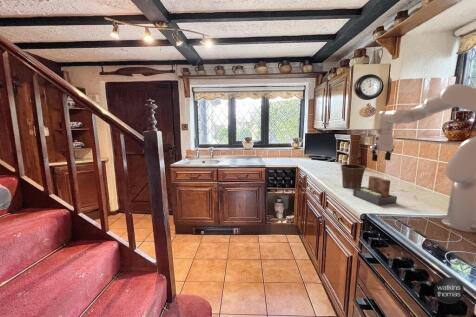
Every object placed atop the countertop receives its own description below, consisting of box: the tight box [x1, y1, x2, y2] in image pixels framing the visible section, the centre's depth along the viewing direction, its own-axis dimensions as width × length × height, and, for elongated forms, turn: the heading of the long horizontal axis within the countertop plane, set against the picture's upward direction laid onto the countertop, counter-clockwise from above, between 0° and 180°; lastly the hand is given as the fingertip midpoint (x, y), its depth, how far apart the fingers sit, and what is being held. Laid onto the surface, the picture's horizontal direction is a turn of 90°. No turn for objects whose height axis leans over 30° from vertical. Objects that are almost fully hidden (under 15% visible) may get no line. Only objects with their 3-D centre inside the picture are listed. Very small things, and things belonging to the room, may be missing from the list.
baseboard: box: [390, 189, 418, 201], centre depth 138 cm, size 31×3×12 cm
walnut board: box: [367, 175, 391, 197], centre depth 136 cm, size 12×3×13 cm, turn 16°
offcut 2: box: [369, 192, 382, 198], centre depth 133 cm, size 6×4×5 cm, turn 16°
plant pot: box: [340, 163, 366, 190], centre depth 163 cm, size 16×16×16 cm
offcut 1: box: [359, 188, 372, 194], centre depth 139 cm, size 6×4×5 cm, turn 15°
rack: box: [352, 187, 398, 207], centre depth 136 cm, size 18×14×5 cm
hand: (380, 160), depth 134 cm, fingers open, 9 cm apart
